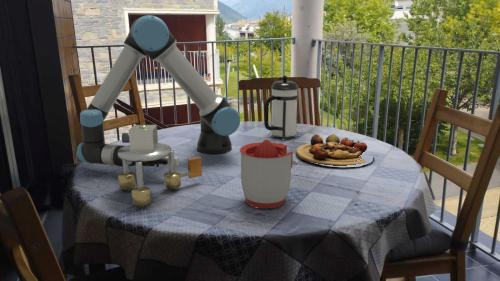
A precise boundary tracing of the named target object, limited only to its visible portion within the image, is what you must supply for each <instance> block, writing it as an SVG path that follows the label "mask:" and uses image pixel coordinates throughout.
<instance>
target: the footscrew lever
mask: <svg viewBox="0 0 500 281" xmlns="http://www.w3.org/2000/svg"><path fill="white" fill-rule="evenodd" d="M167 157H169V166H168V171H167V172H165V173H164V174H163V177H164V178H163V179H164V187H165V189H169V190H175V189H178V188H180V187H181V185H182V183H181V179H182V178H184V177H188V178H190V179H194V178H198V177H200V176H203V165H202V164H203V163H202V157H201V156H196V157H192V158H187V170H186V171H181V172H179V171H176V168H175V167H176V166H175V163H174V157H175V150H173V149H171V154H170V155H169V156H167Z"/></svg>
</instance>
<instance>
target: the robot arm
mask: <svg viewBox="0 0 500 281" xmlns="http://www.w3.org/2000/svg"><path fill="white" fill-rule="evenodd" d="M123 46H124V47H123V49H122V51H121V52H120V54H119V55H118V57H117V58H116V60H115V62H114V64H113V65H112V66H111V68H110V70H109V71H108V73H107V75H106V77H105V78H104V80H103V81H102V83H101V85H100V87H99V88H98V90H97V91H96V93H95V94H94V96H93V98H92V99H91V101H90V103H89V105H88V106H87V108H86V109H85V110H81V111H80V113H79V117H80V119H79V122H80V123H79V124H80V128H81V136H82V142H80V143H79V144H78V146H77V147H76V148H77V150H76V157H77V158H78V159H79V161H81V162H84V163H88V164H95V165H96V164H97V165H108V166H111V167H114V166H116V167H122V168H123V161H122V159H120V158H119V157H118V150H119V149H120V148H122V147H124V146H125V145H121V144H120V145H119V144H110V143H106V141H105V139H106V138H105V128H104V121H105V120H106V119H107V116H108V115H109V112H110V111H111V109H112V108H113V107H114V104H115V103H116V101H117V100H118V98H119V96H120V94H121V93H122V91H123V90H124V88H125V86H127V84H128V82H129V80H130V79H131V77H132V75H133V74H134V71H135V70H136V69H137V67H138V65H139V64H140V62H141V61H142V59H143V58H146V57H148V58H149V59H150V60H151V61H153V62H158V63H159V64H160V65H161V66H162V67H163V69H164V70H165V71H166V72H167V73H168V74H169V75H170V76H171V78H172V79H173V80H174V81H175V82H176V83H177V84H178V86H179V87H180V88H181V89H182V90H183V92H184V93H185V94H186V95H187V96H188V98H189V99H190V100H191V101H192V102H193V103H194V104H195V105H196V107H197V108H198V109H199V117H200V118H199V119H200V121H199V123H200V133H199V138H198V140H197V143H196V150H197V151H198V152H199V153H202V154H207V155H208V154H209V155H219V154H223V153H224V154H225V153H228V152H231V150H232V147H233V146H232V141H231V138H230V136H231V135H232V134H234V133H235V132H236V131H237V130H238V129H239V128H240V125H241V116H240V113H239V112H238V110H237V109H236V108H234V107H232V106H231V104H230V103H229V102H228V98H227V97H226V96H223V95H221V94H217V93H216V92H215V91H214V89H213V88H211V86H210V85H209V84H208V82H206V80H205V79H204V78H203V77H202V75H201V74H200V73H199V72H198V71H197V70H196V68H195V67H194V66H193V64H192V63H191V62H190V61H189V59H187V57H186V55H184V54H183V53H182V51H181V50H180V49H179V48H178V46H177V39H176V37H175V36H174V35H173V34H172V33H171V32H170V30H169V28H168V26H167V24H166V23H165V21H164V20H162V19H161V18H160V17H157V16H156V15H151V14H147V15H143V16H140V17H138V18H137V19H135V20H134V21H133V23H132V24H131V27H130V30H129V32H128V34H127V36H126V38H125V40H124V42H123ZM128 162H129V167H136V162H133V161H128ZM179 162H180V161H179V157H175V156H174V163H175V167H178V166H179ZM160 165H161V166H168V167H169V157H168V156H167V157H165V158H162V159H158V160H153V161H144V162H142V167H155V166H156V168H159V167H160Z"/></svg>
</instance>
